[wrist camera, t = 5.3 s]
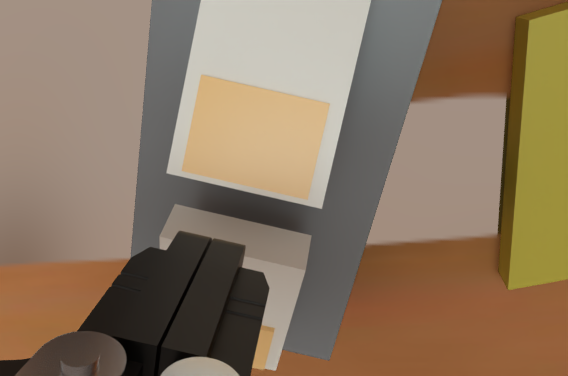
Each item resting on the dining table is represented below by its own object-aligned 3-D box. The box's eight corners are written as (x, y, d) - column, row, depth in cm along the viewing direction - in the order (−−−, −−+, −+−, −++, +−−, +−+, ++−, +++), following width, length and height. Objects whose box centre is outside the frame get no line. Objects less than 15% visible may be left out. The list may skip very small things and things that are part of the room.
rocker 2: (174, 203, 18) (157, 240, 16) (311, 235, 18) (305, 275, 16) (174, 312, 22) (160, 348, 21) (281, 337, 22) (274, 375, 21)
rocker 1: (221, -37, 16) (210, -58, 15) (368, -4, 16) (376, -22, 15) (179, 169, 17) (164, 173, 15) (320, 202, 17) (321, 210, 15)
